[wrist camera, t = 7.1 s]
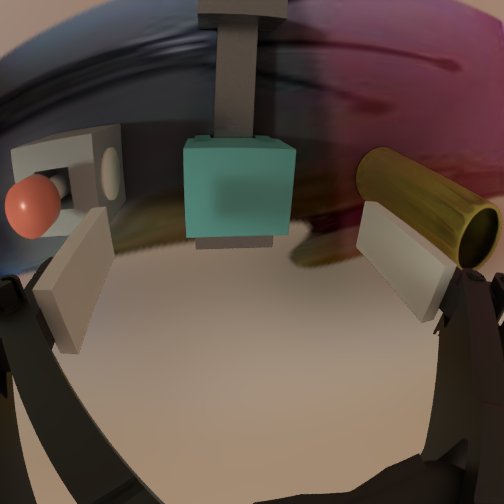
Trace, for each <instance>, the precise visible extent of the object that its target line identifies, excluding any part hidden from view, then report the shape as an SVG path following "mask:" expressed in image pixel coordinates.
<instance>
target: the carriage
mask: <svg viewBox="0 0 504 504" xmlns="http://www.w3.org/2000/svg"><path fill="white" fill-rule="evenodd" d="M295 159H296V149H294V148H293V147H291V146H289V145H288V144H286V143H284V142H282V141H281V140H279V139H272V138H270V137H268V136H260V135H253V138H210V135H196V136H195V138H188V140H187V142H186V144H185V146H184V148H183V165H184V198H185V220H186V238H192V237H225V236H264V235H288V232H289V223H290V213H291V203H292V193H293V182H294V171H295Z"/></svg>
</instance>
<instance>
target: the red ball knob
mask: <svg viewBox="0 0 504 504" xmlns="http://www.w3.org/2000/svg"><path fill="white" fill-rule="evenodd" d="M70 189H71V186H70V179H69V177H68V176H67V175H66V174H64V173H57V174H55V175H54V176H52V177H51V178H47V177H46V176H43V175H40V174H33V175H30V176H28V177H26V178H25V179H23V180H21V181H20V182H18V183H16V184H15V185H13V186H12V187H11V188H10V190H9V191H8V193H7V196H6V200H5V212H6V216H7V219H8V221H9V223H10V225H11V227H12V228H13V229H14V230H15V231H16V232H17V233H18V234H19V235H21V236H22V237H25V238H28V239H36V238H39V237H41V236H42V235H43V234H44V233H45V232H46V231H47V230H48V229H49V228H50V227H51V226H52V225H53V224H54V223H55V222H56V220H57V219H58V217H59V215H60V211H61V199H62V198H63V197H64V196H66V195H67V194H68V193H69V191H70Z"/></svg>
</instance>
